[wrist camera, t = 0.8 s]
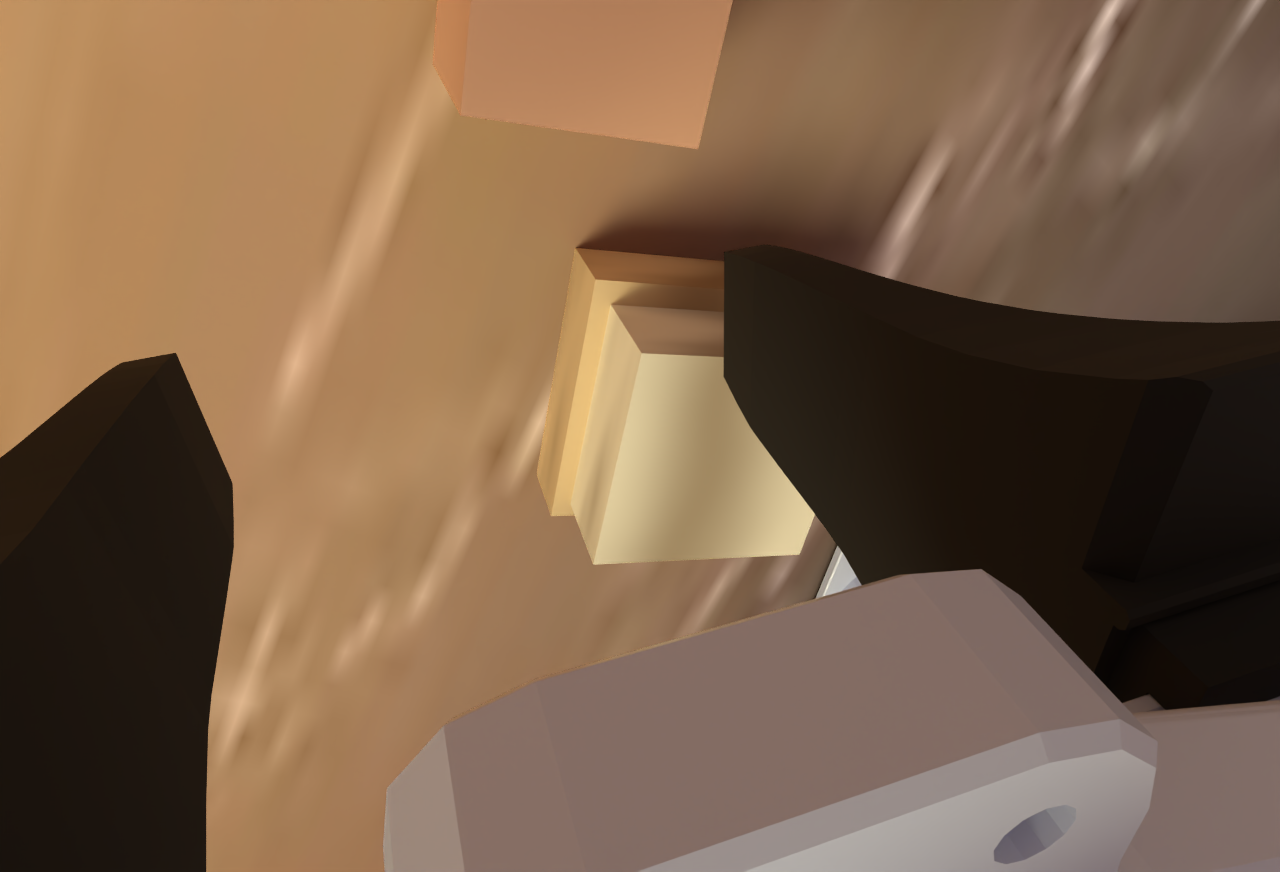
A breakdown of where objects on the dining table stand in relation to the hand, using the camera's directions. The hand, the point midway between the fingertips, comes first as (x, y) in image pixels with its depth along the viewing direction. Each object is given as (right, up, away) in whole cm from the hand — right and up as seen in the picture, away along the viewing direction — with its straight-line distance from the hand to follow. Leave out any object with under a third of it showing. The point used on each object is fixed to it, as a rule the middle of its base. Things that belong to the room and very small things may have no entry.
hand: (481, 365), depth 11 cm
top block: (+4, 0, +11) cm, 12 cm away
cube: (0, +9, +6) cm, 11 cm away
